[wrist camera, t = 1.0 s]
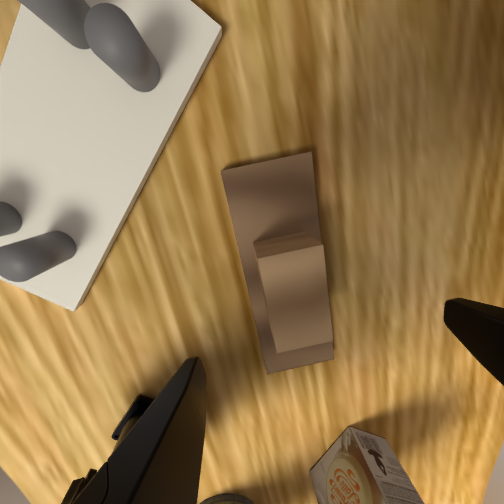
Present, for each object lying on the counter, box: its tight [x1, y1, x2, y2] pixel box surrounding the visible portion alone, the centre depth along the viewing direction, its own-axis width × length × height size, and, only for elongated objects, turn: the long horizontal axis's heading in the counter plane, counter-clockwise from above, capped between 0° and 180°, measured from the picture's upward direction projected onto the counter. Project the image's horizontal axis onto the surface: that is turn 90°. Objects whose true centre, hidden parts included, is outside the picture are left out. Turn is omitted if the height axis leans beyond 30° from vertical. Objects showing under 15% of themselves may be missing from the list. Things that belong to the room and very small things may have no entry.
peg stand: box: [0, 0, 222, 312], centre depth 15 cm, size 24×10×5 cm, turn 146°
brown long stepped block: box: [221, 152, 334, 374], centre depth 19 cm, size 20×7×6 cm, turn 11°
